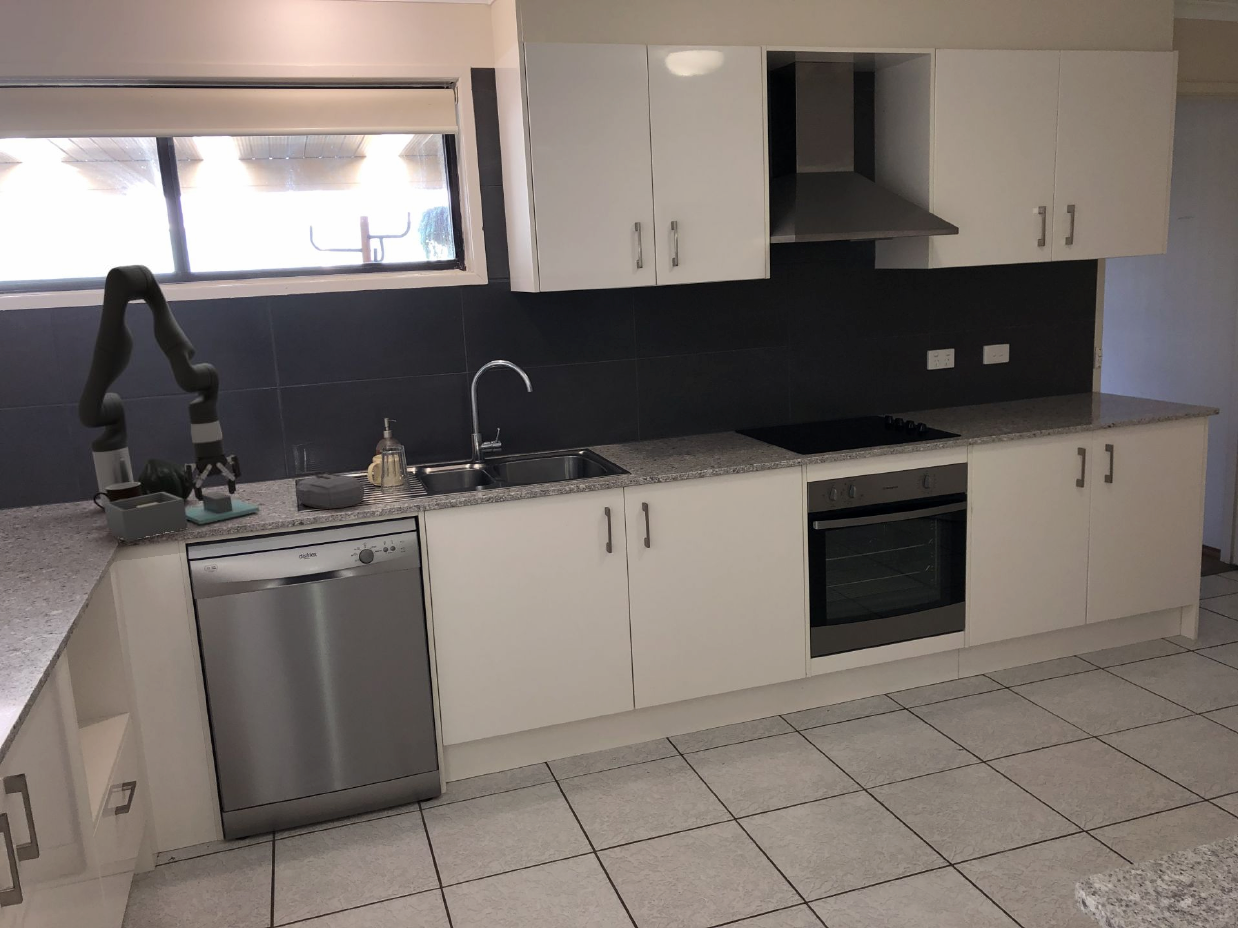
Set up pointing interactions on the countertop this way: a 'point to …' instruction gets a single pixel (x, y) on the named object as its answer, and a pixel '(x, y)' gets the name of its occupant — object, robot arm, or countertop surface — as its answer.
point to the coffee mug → (120, 492)
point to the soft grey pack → (330, 491)
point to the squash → (164, 479)
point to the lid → (218, 508)
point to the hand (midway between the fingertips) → (216, 497)
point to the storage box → (145, 516)
